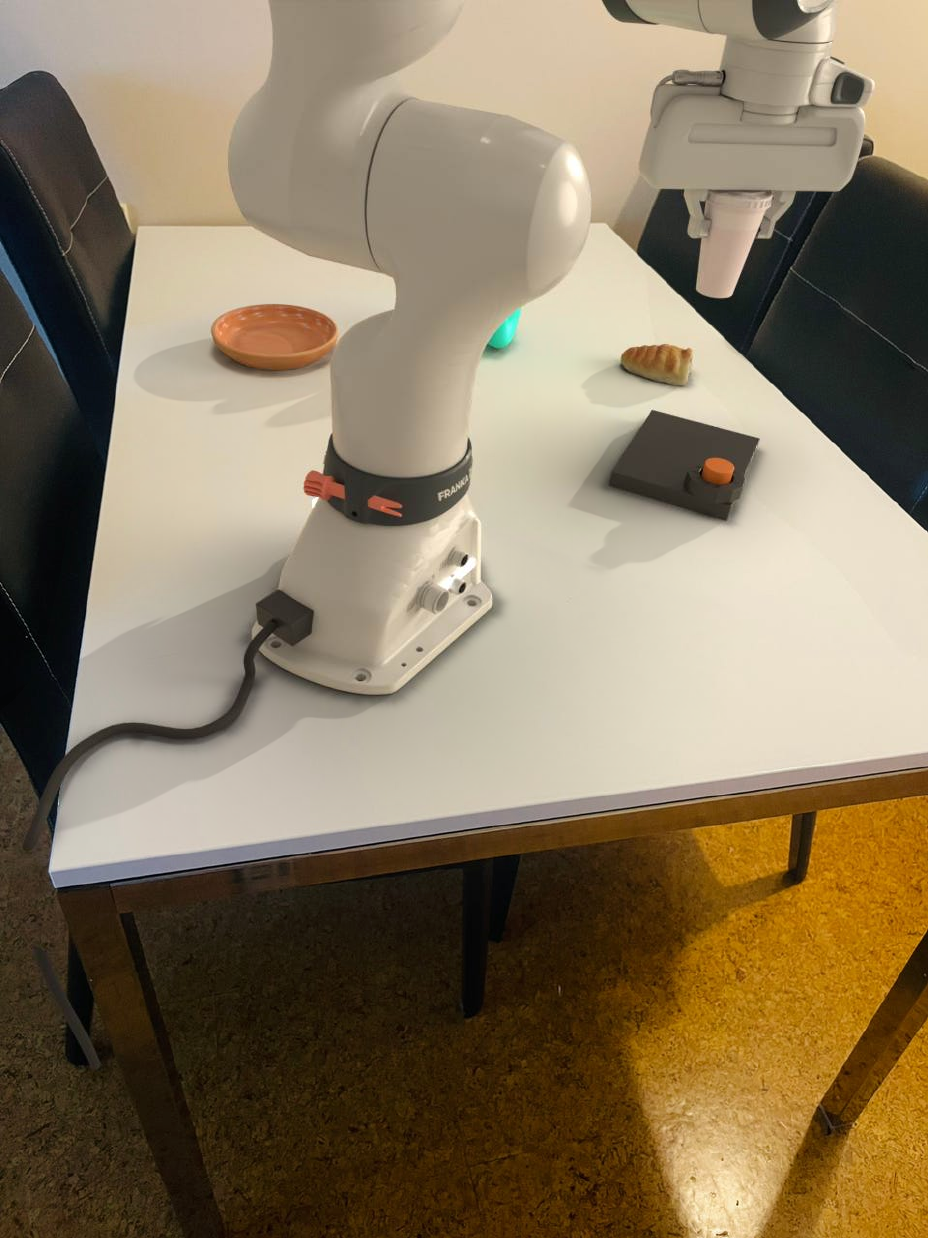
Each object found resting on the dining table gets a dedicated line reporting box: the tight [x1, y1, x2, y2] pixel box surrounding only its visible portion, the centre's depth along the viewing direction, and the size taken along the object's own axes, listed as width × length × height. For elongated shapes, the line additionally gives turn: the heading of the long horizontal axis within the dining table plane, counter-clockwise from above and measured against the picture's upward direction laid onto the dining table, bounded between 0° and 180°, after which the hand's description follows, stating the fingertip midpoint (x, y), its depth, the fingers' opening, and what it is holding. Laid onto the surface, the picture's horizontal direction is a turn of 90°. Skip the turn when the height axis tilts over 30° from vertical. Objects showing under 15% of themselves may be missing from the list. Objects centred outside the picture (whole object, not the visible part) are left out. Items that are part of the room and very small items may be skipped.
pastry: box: [620, 343, 694, 386], centre depth 117 cm, size 9×7×4 cm
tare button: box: [702, 458, 734, 485], centre depth 93 cm, size 3×3×2 cm
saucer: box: [210, 303, 339, 371], centre depth 115 cm, size 16×16×3 cm
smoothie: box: [695, 189, 774, 299], centre depth 86 cm, size 6×6×14 cm
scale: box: [608, 409, 761, 521], centre depth 99 cm, size 16×13×4 cm
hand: (729, 236), depth 87 cm, fingers closed on smoothie, 5 cm apart
